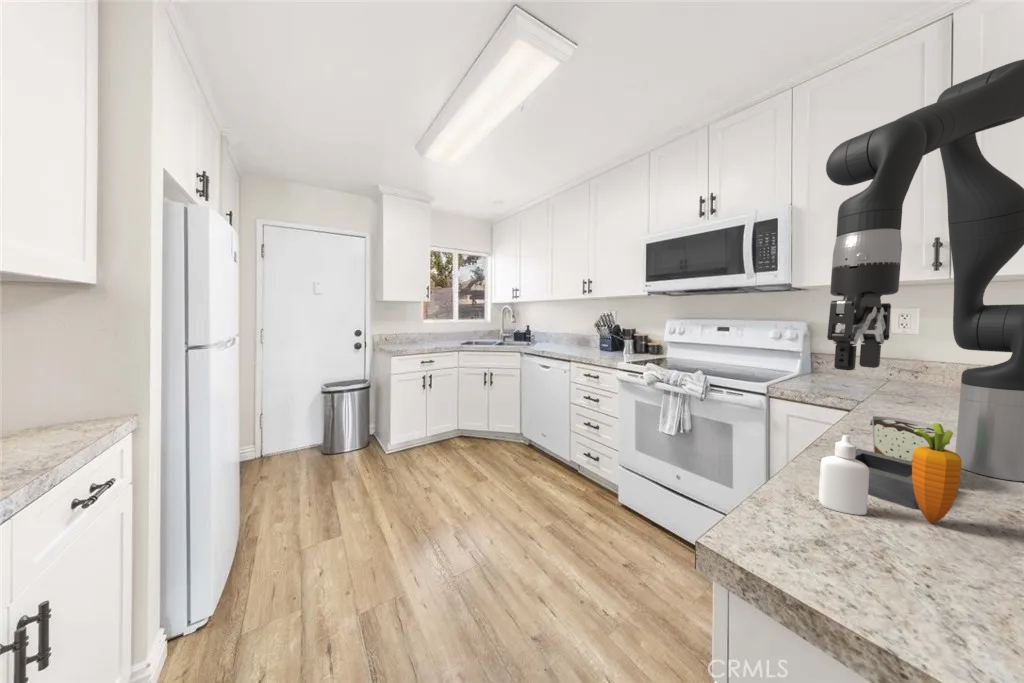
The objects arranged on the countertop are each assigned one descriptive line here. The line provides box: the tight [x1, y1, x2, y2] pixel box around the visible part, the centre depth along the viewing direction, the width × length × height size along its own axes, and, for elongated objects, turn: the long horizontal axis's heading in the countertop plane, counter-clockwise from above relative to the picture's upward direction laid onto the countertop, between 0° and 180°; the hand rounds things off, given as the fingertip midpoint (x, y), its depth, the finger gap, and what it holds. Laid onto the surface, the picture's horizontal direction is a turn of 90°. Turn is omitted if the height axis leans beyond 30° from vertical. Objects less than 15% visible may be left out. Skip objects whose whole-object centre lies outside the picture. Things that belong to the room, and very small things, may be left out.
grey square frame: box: [855, 448, 919, 510], centre depth 65 cm, size 13×11×4 cm
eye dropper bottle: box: [818, 434, 869, 516], centre depth 57 cm, size 4×6×12 cm
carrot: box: [912, 422, 962, 525], centre depth 53 cm, size 5×5×15 cm
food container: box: [869, 415, 951, 461], centre depth 70 cm, size 12×6×10 cm, turn 179°
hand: (857, 368), depth 56 cm, fingers open, 8 cm apart
